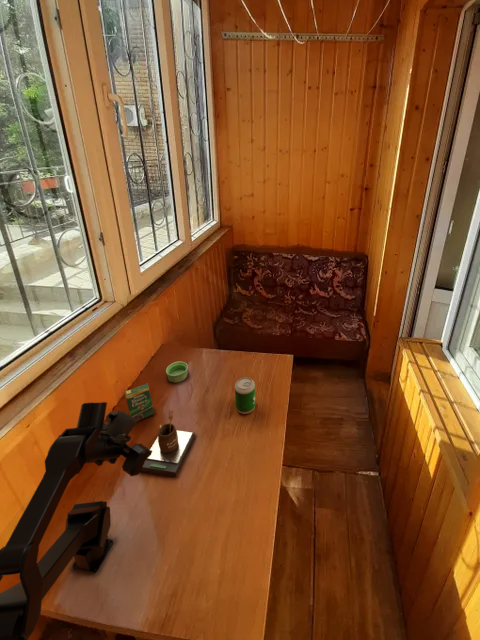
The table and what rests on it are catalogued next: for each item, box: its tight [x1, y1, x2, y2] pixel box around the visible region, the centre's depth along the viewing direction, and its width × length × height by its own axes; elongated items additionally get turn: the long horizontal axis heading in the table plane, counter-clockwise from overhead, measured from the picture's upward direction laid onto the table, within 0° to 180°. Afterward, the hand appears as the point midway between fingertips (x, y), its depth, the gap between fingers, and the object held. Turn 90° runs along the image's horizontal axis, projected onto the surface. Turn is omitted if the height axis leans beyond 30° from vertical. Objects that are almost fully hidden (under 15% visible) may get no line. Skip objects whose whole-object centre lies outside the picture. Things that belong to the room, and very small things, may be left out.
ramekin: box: [165, 361, 189, 384], centre depth 135 cm, size 9×9×4 cm
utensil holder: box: [156, 409, 178, 453], centre depth 100 cm, size 6×6×12 cm
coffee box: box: [124, 382, 155, 422], centre depth 113 cm, size 8×3×13 cm, turn 121°
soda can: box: [234, 377, 257, 415], centre depth 118 cm, size 8×8×12 cm
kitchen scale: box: [140, 429, 196, 478], centre depth 102 cm, size 14×12×2 cm
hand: (140, 445), depth 90 cm, fingers open, 9 cm apart
